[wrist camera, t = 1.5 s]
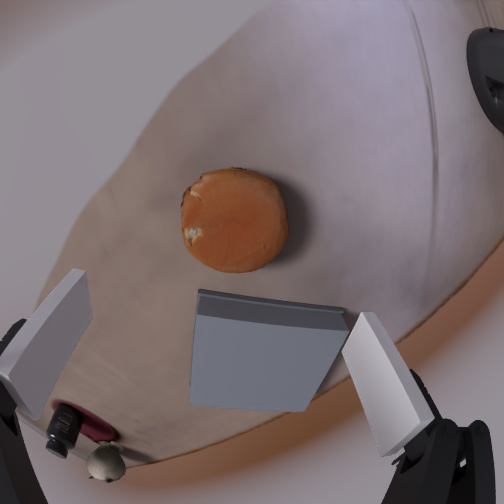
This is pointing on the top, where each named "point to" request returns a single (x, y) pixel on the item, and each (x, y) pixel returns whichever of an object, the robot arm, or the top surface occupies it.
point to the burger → (234, 220)
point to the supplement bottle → (63, 430)
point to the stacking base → (261, 351)
